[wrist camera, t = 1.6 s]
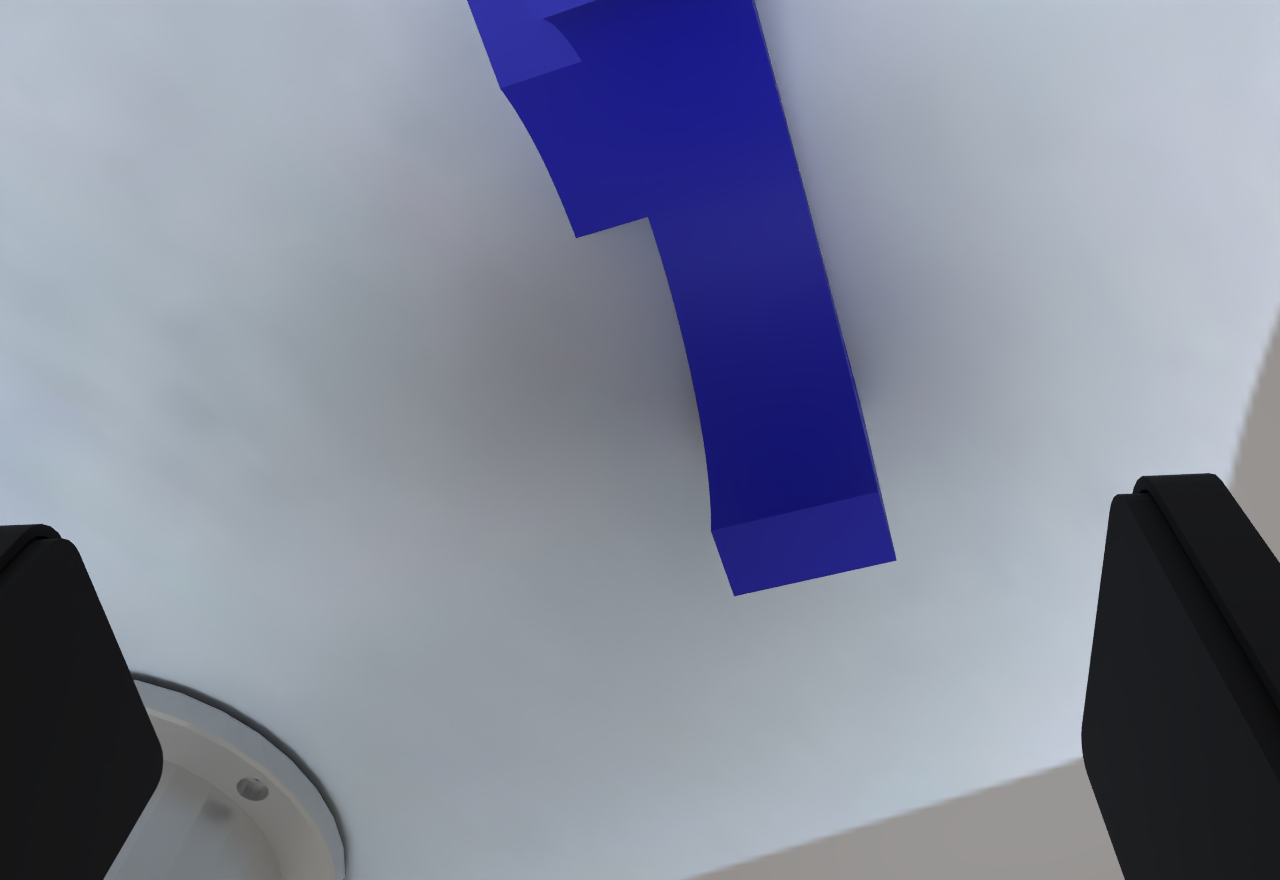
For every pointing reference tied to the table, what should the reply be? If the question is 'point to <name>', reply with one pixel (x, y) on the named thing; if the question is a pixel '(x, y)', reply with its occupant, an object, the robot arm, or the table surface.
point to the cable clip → (711, 255)
